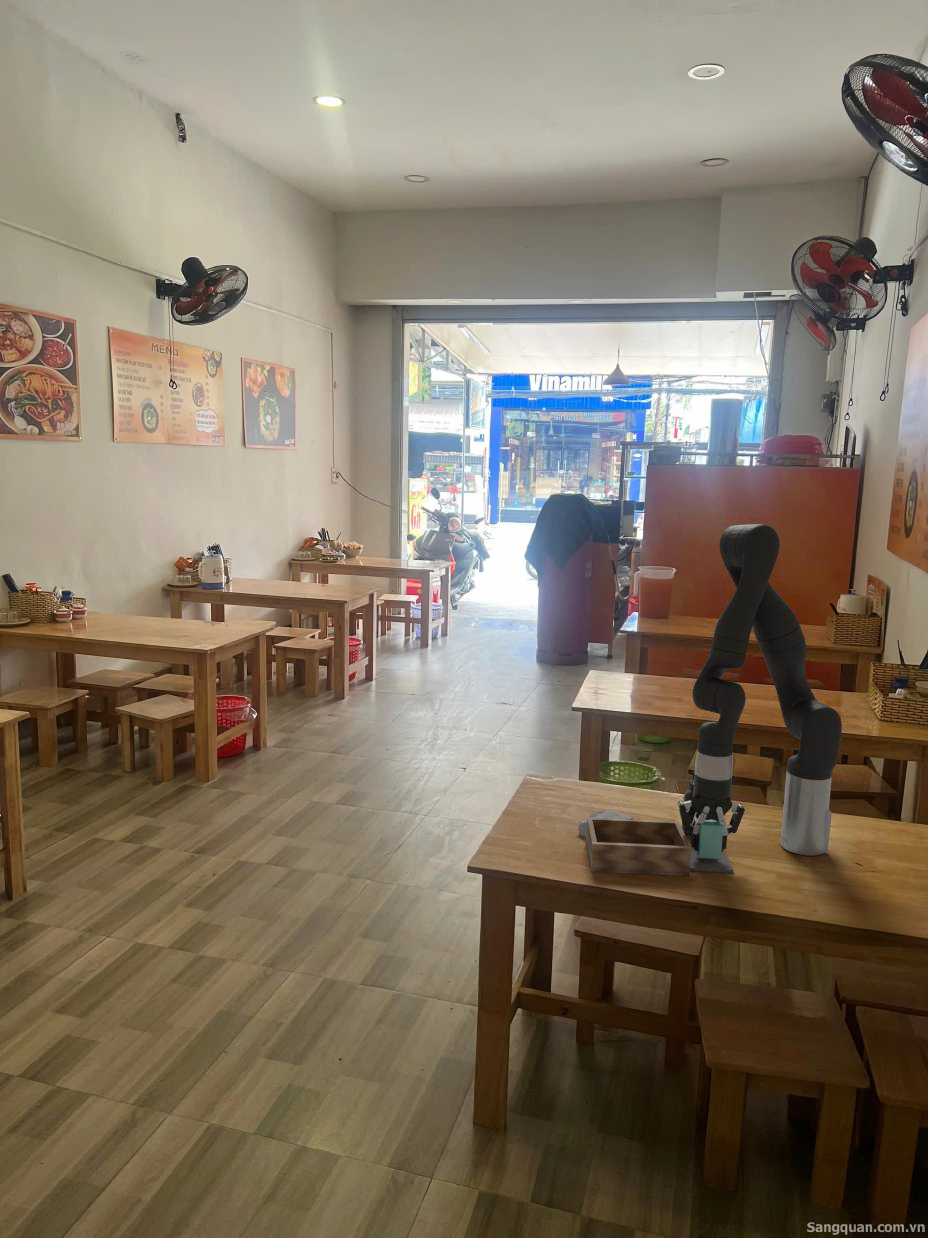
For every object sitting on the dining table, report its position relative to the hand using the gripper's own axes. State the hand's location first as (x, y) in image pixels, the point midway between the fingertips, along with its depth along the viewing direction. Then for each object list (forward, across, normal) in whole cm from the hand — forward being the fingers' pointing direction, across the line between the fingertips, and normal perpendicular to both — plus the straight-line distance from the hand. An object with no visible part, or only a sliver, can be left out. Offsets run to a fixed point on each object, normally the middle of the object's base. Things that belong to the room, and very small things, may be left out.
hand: (707, 849), depth 185 cm
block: (+1, 0, 0) cm, 1 cm away
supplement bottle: (+3, -1, -16) cm, 16 cm away
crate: (+3, +15, 0) cm, 15 cm away
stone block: (+3, +20, -14) cm, 25 cm away
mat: (+3, 0, 0) cm, 3 cm away
